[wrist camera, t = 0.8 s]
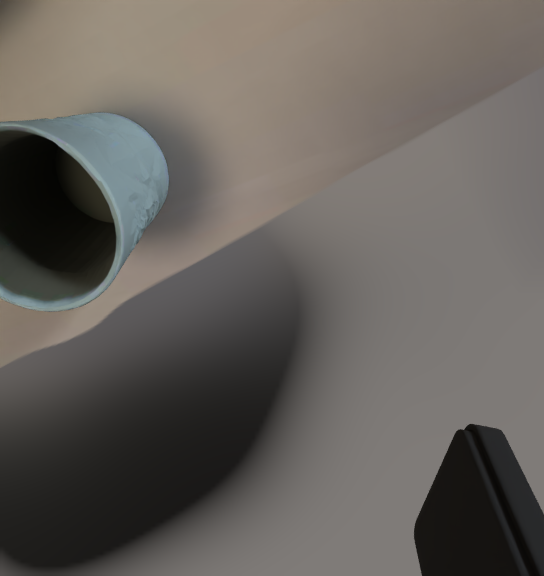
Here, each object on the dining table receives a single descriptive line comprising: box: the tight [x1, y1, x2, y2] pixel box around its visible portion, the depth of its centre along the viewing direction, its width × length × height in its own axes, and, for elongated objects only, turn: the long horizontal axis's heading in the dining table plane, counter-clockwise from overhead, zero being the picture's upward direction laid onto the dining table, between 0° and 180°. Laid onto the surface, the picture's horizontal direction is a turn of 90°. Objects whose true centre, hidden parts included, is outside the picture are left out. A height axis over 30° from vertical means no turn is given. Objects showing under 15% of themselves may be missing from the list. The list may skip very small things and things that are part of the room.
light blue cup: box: [0, 112, 169, 312], centre depth 32 cm, size 10×10×12 cm
